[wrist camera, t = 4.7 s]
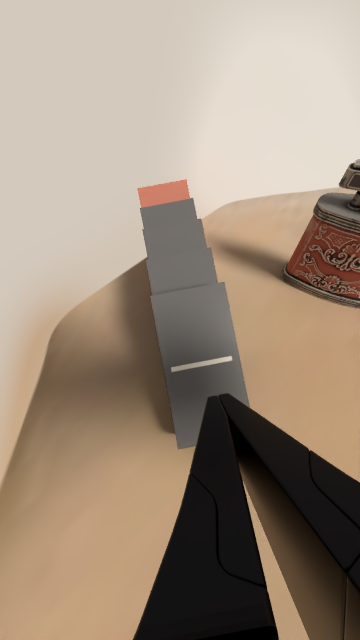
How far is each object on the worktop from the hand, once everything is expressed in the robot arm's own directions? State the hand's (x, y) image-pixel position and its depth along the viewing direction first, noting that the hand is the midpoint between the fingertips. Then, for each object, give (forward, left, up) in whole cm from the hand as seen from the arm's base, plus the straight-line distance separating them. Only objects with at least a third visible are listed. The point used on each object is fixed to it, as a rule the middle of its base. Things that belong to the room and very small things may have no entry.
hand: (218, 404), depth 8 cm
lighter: (+4, -16, -8) cm, 19 cm away
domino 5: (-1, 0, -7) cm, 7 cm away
